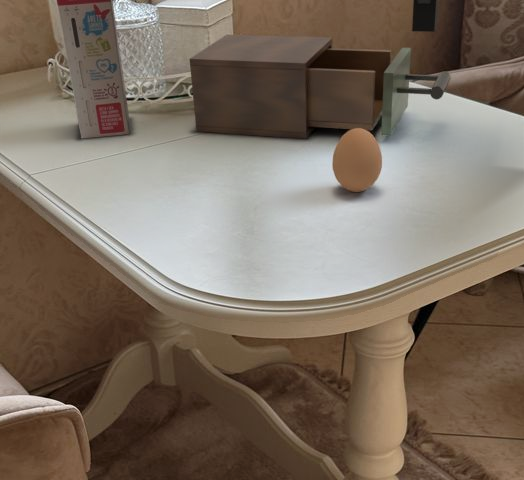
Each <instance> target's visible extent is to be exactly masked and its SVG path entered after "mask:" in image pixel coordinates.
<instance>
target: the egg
mask: <svg viewBox="0 0 524 480" xmlns="http://www.w3.org/2000/svg"><path fill="white" fill-rule="evenodd" d="M382 168H383V156H382V150H381V148H380V145H379V143H378V141H377V139H376V138H375V136H374V135H373V134H372V133H371V132H370V131H369V130H365V129H361V128H355V129H348V130H347V131H346V132H345V133H344V134H343V135H341V137H340V139H339V140H338V142H337V144H336V146H335V148H334V150H333V154H332V172H333V175H334V177H335V179H336V181H337V182H338V184H339V185H340V186H342V187H343V188H344V189H345V190H347V191H349V192H353V193H360V192H363V191H367V190H368V189H370V188H371V187H372V186H373V185H374V184H375V183H376V182H377V180H378V178H379V177H380V174H381V172H382Z"/></svg>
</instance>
